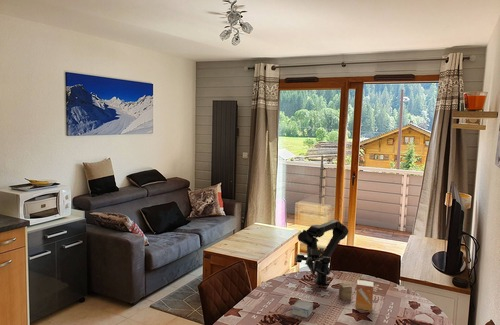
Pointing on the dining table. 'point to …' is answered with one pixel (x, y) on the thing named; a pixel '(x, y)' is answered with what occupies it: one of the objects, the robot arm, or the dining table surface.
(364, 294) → the small box
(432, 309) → the dining table surface
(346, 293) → the olive beige block
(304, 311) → the medicine box
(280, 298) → the dining table surface
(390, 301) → the dining table surface
